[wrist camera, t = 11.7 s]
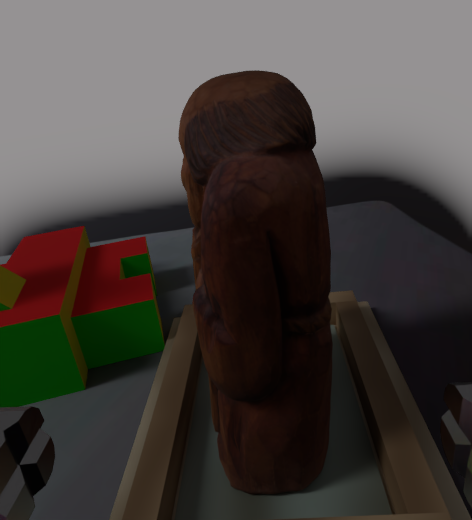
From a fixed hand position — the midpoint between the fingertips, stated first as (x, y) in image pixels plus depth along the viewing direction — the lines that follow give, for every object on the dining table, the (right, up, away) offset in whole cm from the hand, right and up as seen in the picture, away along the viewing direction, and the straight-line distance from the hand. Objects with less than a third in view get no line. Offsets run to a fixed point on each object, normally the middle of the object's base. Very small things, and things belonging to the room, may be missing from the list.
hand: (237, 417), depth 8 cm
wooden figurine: (+2, -6, +16) cm, 17 cm away
